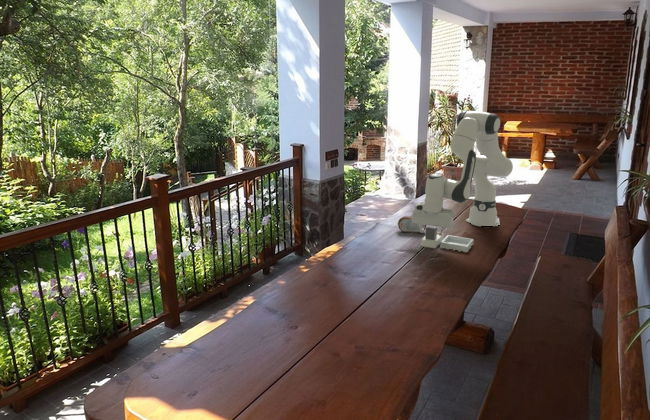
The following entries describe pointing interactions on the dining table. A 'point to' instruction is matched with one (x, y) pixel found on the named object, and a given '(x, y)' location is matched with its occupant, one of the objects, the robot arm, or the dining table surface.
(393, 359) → the dining table surface
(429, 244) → the power strip
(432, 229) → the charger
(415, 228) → the tin
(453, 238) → the tray
